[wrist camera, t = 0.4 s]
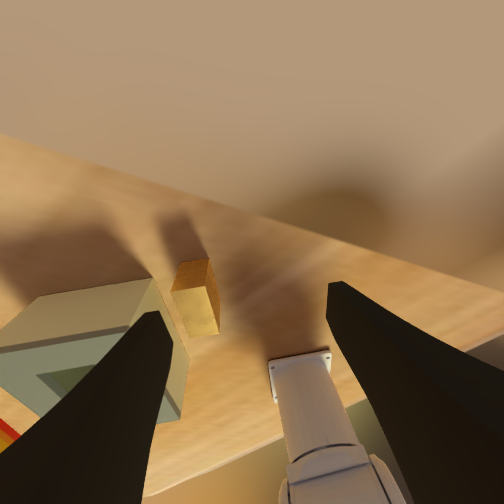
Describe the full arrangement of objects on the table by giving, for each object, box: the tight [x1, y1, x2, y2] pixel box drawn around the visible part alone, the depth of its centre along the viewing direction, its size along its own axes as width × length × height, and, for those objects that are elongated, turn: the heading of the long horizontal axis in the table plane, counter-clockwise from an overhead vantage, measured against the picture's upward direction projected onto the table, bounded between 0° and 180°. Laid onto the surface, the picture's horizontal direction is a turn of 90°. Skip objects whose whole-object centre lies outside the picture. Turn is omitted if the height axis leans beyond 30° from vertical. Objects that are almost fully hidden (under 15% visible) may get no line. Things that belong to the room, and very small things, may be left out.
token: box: [171, 258, 220, 338], centre depth 18 cm, size 5×2×4 cm, turn 7°
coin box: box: [0, 278, 189, 424], centre depth 19 cm, size 12×10×6 cm
